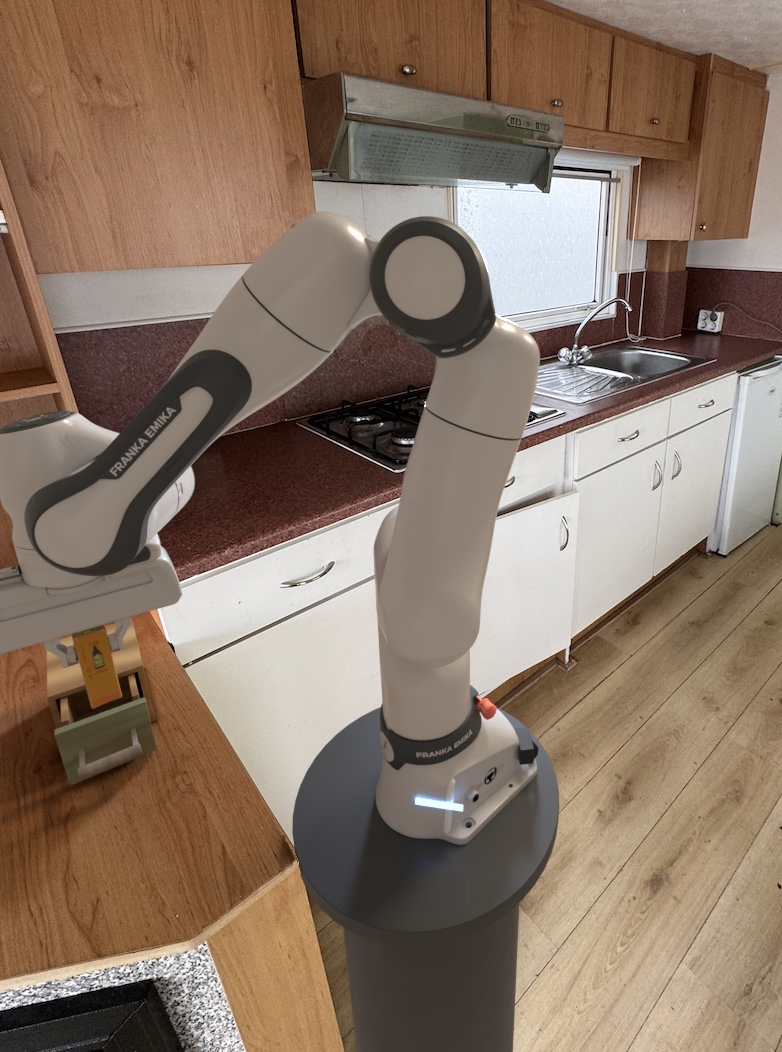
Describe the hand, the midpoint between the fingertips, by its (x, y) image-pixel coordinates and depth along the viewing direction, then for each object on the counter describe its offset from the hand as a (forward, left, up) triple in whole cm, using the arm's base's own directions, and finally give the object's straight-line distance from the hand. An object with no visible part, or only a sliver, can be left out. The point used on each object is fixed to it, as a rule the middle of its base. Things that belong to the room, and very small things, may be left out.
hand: (95, 655), depth 70 cm
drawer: (+1, -11, -23) cm, 25 cm away
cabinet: (+1, -21, -24) cm, 32 cm away
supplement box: (0, 0, -6) cm, 6 cm away
